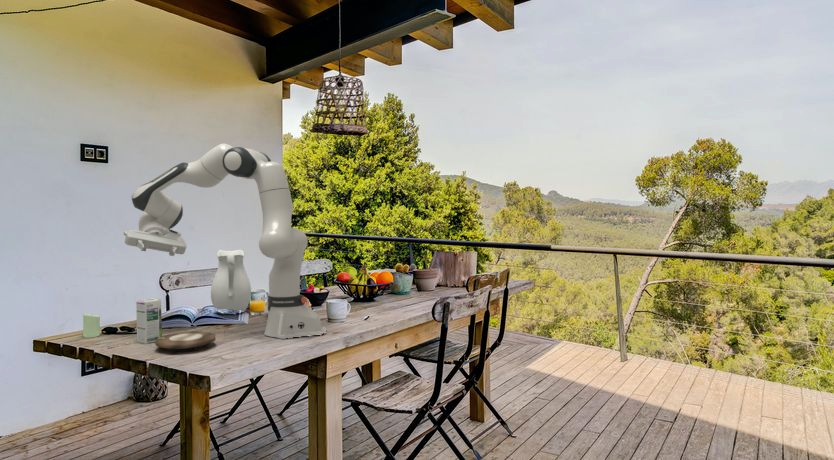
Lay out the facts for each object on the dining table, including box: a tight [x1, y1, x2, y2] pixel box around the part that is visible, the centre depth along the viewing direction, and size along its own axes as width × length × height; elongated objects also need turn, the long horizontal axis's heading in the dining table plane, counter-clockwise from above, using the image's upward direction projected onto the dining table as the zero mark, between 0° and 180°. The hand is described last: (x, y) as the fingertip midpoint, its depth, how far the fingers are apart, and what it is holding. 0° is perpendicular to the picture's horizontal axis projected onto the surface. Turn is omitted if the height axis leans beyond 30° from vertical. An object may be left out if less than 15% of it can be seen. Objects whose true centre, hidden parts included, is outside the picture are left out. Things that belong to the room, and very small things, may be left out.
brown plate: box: [154, 330, 217, 349], centre depth 166 cm, size 18×18×1 cm
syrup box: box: [135, 297, 163, 345], centre depth 174 cm, size 6×6×14 cm
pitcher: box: [210, 249, 252, 312], centre depth 222 cm, size 24×17×28 cm
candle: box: [82, 313, 101, 339], centre depth 181 cm, size 5×5×8 cm
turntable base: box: [168, 345, 204, 352], centre depth 166 cm, size 10×10×2 cm
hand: (158, 251), depth 180 cm, fingers open, 8 cm apart
